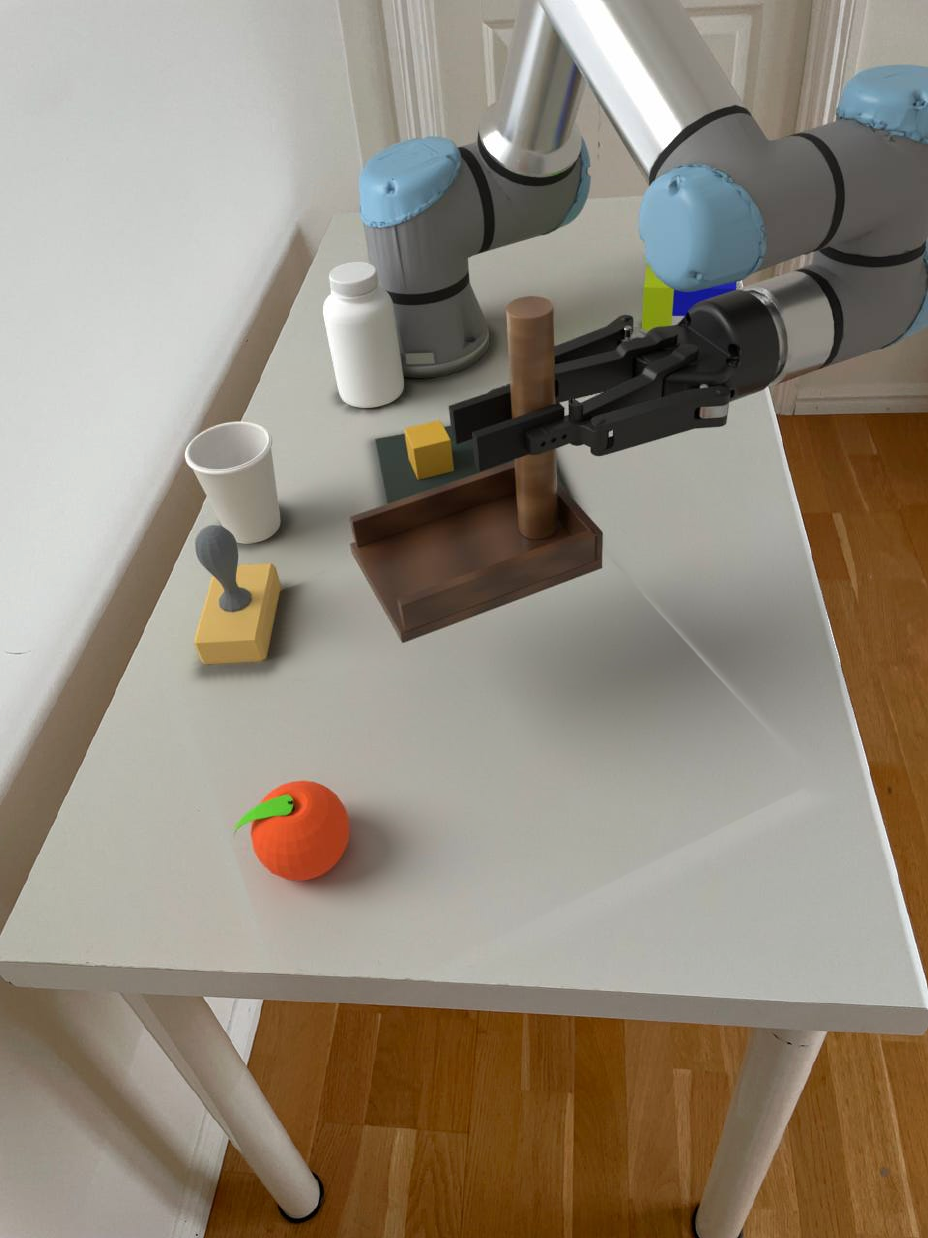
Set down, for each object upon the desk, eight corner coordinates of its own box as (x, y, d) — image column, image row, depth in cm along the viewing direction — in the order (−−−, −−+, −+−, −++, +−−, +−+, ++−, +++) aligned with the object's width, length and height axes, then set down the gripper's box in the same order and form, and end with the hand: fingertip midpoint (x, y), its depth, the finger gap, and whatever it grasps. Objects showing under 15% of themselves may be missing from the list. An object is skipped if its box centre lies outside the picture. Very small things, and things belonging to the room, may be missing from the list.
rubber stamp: (268, 668, 82) (233, 567, 74) (203, 671, 83) (161, 571, 74) (283, 590, 89) (253, 489, 81) (224, 593, 90) (187, 493, 81)
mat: (375, 442, 105) (375, 438, 105) (532, 415, 106) (532, 411, 106) (395, 544, 93) (394, 540, 92) (572, 512, 94) (572, 508, 93)
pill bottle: (415, 377, 114) (398, 257, 104) (390, 413, 109) (370, 291, 99) (355, 371, 117) (333, 253, 106) (328, 406, 111) (302, 286, 101)
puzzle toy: (726, 369, 110) (736, 288, 103) (639, 367, 112) (643, 287, 105) (727, 327, 116) (736, 248, 109) (645, 325, 118) (649, 247, 111)
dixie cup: (284, 491, 100) (261, 411, 93) (301, 538, 95) (279, 456, 88) (206, 513, 99) (178, 434, 92) (220, 562, 93) (191, 481, 86)
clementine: (250, 912, 66) (223, 859, 61) (247, 829, 71) (222, 774, 66) (362, 887, 67) (345, 833, 62) (351, 806, 72) (334, 750, 66)
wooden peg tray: (534, 489, 77) (526, 264, 63) (602, 568, 69) (608, 332, 56) (351, 553, 73) (300, 328, 60) (402, 643, 66) (357, 410, 52)
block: (440, 419, 99) (403, 428, 99) (450, 439, 97) (413, 448, 96) (443, 450, 102) (408, 459, 102) (454, 471, 99) (417, 480, 99)
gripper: (815, 435, 66) (521, 547, 61) (683, 340, 77) (423, 428, 71) (836, 339, 61) (516, 452, 55) (691, 250, 72) (411, 337, 66)
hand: (464, 438), depth 63 cm, fingers closed on wooden peg tray, 3 cm apart
